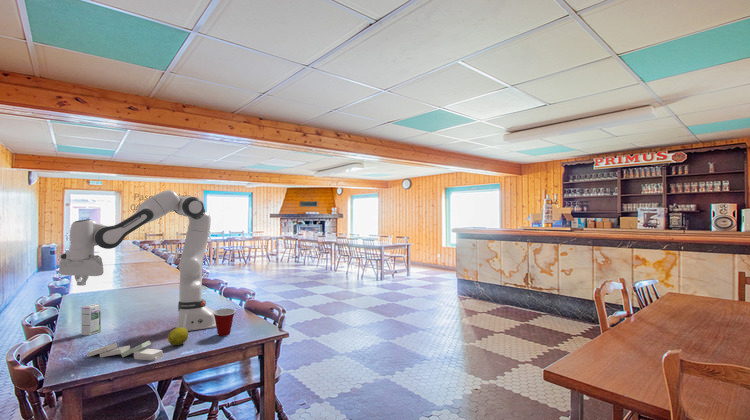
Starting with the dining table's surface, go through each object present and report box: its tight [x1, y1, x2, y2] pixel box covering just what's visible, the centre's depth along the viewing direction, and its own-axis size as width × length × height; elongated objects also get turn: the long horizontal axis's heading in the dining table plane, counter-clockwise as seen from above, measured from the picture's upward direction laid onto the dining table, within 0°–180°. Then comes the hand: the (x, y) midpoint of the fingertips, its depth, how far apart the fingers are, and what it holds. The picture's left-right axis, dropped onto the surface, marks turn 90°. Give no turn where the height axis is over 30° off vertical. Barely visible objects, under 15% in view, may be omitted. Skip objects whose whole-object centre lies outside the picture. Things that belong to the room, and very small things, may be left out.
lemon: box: [167, 327, 189, 346], centre depth 171 cm, size 11×8×8 cm
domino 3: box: [120, 340, 152, 358], centre depth 157 cm, size 2×5×10 cm
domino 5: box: [133, 353, 165, 361], centre depth 155 cm, size 2×5×10 cm
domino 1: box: [86, 342, 118, 358], centre depth 158 cm, size 2×5×10 cm
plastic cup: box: [213, 307, 236, 337], centre depth 186 cm, size 11×11×12 cm
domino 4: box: [133, 347, 164, 359], centre depth 155 cm, size 2×5×10 cm
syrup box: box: [80, 303, 102, 336], centre depth 188 cm, size 6×6×14 cm
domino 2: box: [99, 344, 131, 358], centre depth 158 cm, size 2×5×10 cm
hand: (81, 285), depth 165 cm, fingers closed
